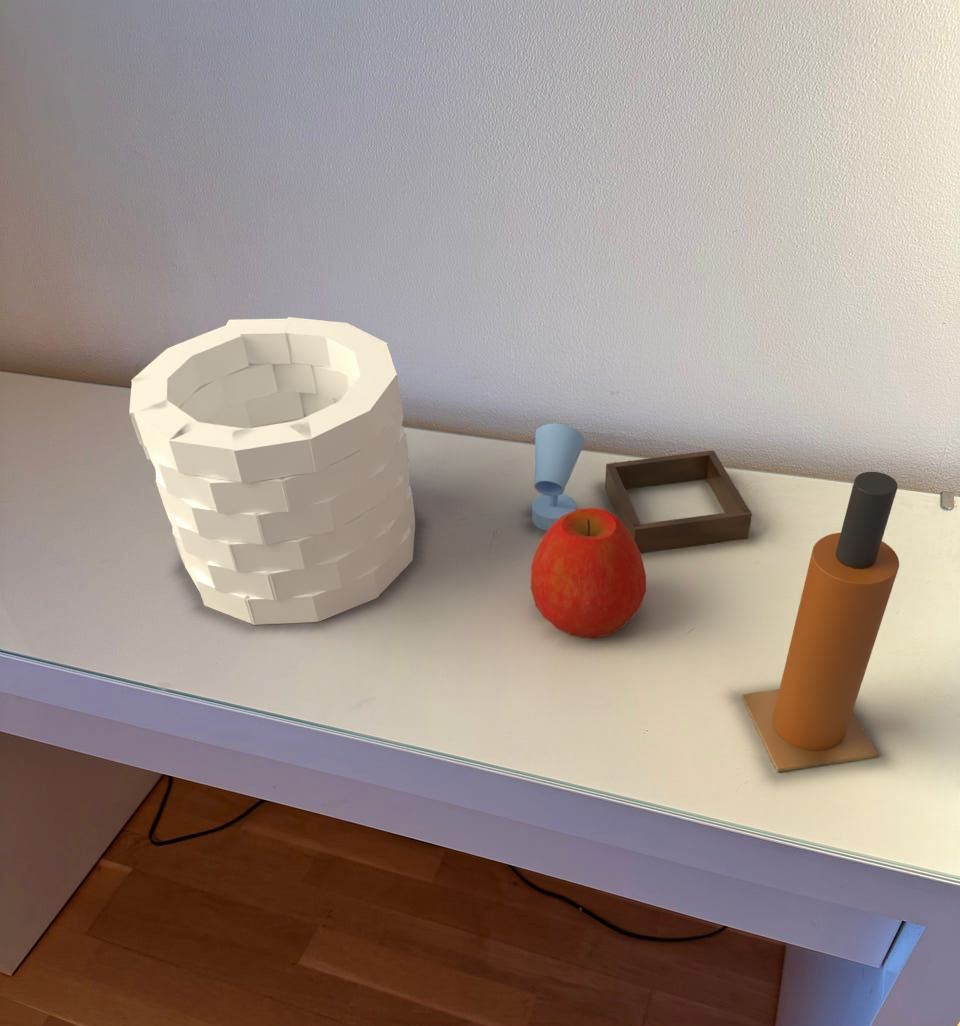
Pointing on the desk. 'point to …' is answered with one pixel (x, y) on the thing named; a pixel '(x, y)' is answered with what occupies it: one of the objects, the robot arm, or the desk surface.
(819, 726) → the bottle
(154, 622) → the desk surface
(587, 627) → the apple
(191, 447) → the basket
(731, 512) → the square frame
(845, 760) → the coaster
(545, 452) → the spotlight
